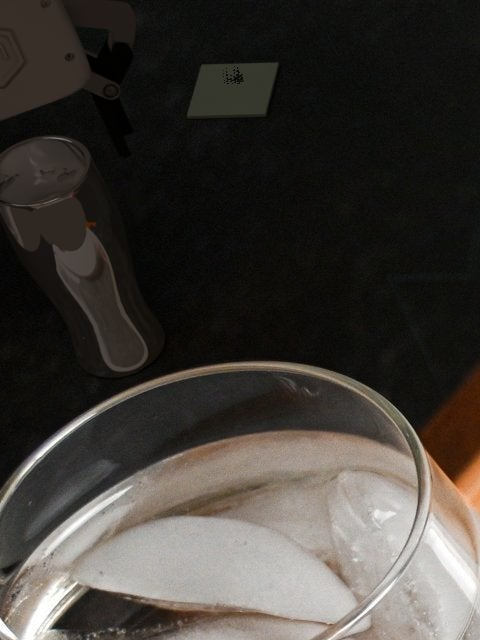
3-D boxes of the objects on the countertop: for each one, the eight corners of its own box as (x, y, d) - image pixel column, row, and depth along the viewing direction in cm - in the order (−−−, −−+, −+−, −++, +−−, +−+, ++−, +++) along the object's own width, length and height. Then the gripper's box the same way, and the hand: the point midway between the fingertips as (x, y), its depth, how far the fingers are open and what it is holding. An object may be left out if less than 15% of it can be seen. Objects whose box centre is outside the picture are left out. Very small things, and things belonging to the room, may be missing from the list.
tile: (187, 119, 145) (186, 115, 145) (202, 67, 148) (201, 64, 148) (266, 117, 144) (265, 113, 144) (279, 65, 148) (278, 62, 147)
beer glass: (61, 330, 133) (-29, 153, 121) (158, 298, 134) (80, 119, 122) (82, 397, 130) (-7, 221, 117) (183, 363, 131) (105, 186, 118)
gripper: (-223, 8, 102) (-77, 258, 116) (93, -98, 105) (196, 158, 119) (-248, -66, 105) (-104, 185, 120) (57, -166, 109) (162, 90, 123)
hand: (46, 171), depth 120 cm, fingers open, 9 cm apart
